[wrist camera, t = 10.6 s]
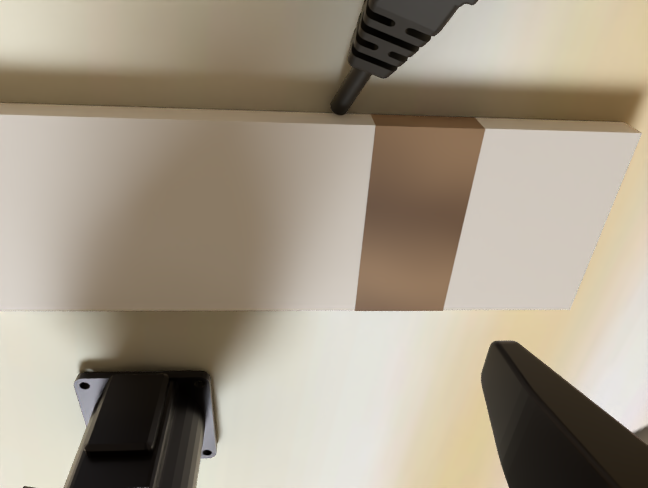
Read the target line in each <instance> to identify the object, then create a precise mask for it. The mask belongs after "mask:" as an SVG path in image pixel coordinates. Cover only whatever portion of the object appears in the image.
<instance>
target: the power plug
mask: <svg viewBox="0 0 648 488" xmlns="http://www.w3.org/2000/svg"><path fill="white" fill-rule="evenodd" d="M477 1H478V0H365V1H364V4H363V7H362V12H361V13H360V16H359V19H358V22H357V27H356V29H355V31H354V34H353V37H352V40H351V45H350V51H349V57H348V63H349V64H350V65H351V66H352V69H351V71H350V72H349V74H348V76H347V77H346V79H345V80H344V82H343V84H342V85H341V87H340V89H339V90H338V92H337V94H336V95H335V97H334V99H333V100H332V102H331V104H330V105H331V109H332V111H333V112H334V113H335V114H337V115H344V114H346V112H347V111H348V109H349V108H350V106H351V105H352V103H353V102H354V100H355V99H356V97H357V96H358V94H359V93H360V91H361V90H362V88H363V87H364V85H365V84H366V82H367V81H368V79H369V78H370V76H371V75H375V76H377V77H380V78H383V79H384V78H387V77H389V76H390V75H391V74H392V73H393V72H394V71H396V70H397V67H399V66H401V65H402V64H404V63H405V62H406V61H407V59H408V57H411V56H413V55H414V54H415V53H416V52H417V51H418V50H419V47H423V46H424V45H425V44H426V43H427V42H429V41H430V39H431V36H435V35H436V34H438V33H439V32H440V31H441V30H442V29H443V27H444V26H445V25H446V23H447V22H448V21H449V20H450V18H451V17H452V16H453V14H454V13H455V12H456V10H457V9H458V8H459V7H461V6H462V5H463V4H470V5H474V4H475V3H476V2H477Z"/></svg>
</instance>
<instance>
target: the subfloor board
mask: <svg viewBox="0 0 648 488" xmlns="http://www.w3.org/2000/svg"><path fill="white" fill-rule="evenodd" d="M641 134H642V133H641V132H639V131H638V130H636V129H634V128H633V127H631V126H629V125H628V124H626V123H625V122H607V121H574V120H542V119H509V118H477V117H445V116H412V115H380V114H347V113H346V114H344V115H337V114H335V113H315V112H282V111H250V110H217V109H185V108H152V107H120V106H87V105H55V104H23V103H0V311H284V310H355V311H443V310H570V308H571V306H572V303H573V301H574V298H575V296H576V294H577V291H578V289H579V286H580V284H581V281H582V279H583V276H584V274H585V272H586V269H587V267H588V264H589V262H590V259H591V257H592V254H593V252H594V249H595V247H596V245H597V242H598V240H599V237H600V235H601V232H602V230H603V227H604V225H605V222H606V220H607V218H608V215H609V213H610V210H611V208H612V205H613V203H614V200H615V198H616V195H617V193H618V191H619V188H620V186H621V183H622V181H623V178H624V176H625V173H626V171H627V168H628V166H629V164H630V161H631V159H632V156H633V154H634V151H635V149H636V146H637V144H638V141H639V139H640V137H641Z"/></svg>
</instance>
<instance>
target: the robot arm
mask: <svg viewBox="0 0 648 488" xmlns="http://www.w3.org/2000/svg"><path fill="white" fill-rule="evenodd" d="M200 381H202V382H200ZM85 382H86V383H85ZM481 383H482V389H483V393H484V397H485V401H486V405H487V409H488V413H489V418H490V422H491V426H492V430H493V434H494V438H495V443H496V447H497V451H498V455H499V458H500V462H501V465H502V469H503V472H504V475H505V478H506V480H507V483H508V486H509V488H648V445H647V444H646V443H645V442H643V441H642V440H641V439H640V438H638V437H637V436H636V435H635V434H633V433H632V432H631V431H629V430H628V429H627V428H626V427H624V426H623V425H622V424H621V423H619V422H618V421H617V420H616V419H614V418H613V417H612V416H610V415H609V414H608V413H607V412H605V411H604V410H603V409H602V408H600V407H599V406H598V405H596V404H595V403H594V402H593V401H591V400H590V399H589V398H588V397H586V396H585V395H584V394H583V393H581V392H580V391H579V390H577V389H576V388H575V387H574V386H572V385H571V384H570V383H569V382H567V381H566V380H565V379H563V378H562V377H561V376H560V375H558V374H557V373H556V372H555V371H553V370H552V369H551V368H550V367H548V366H547V365H546V364H544V363H543V362H542V361H541V360H539V359H538V358H537V357H536V356H534V355H533V354H532V353H530V352H529V351H528V350H527V349H525V348H524V347H523V346H522V345H520V344H519V343H517V342H515V341H494V342H493V343H492V344H491V345H490V347H489V350H488V354H487V357H486V360H485V363H484V366H483V369H482V373H481ZM74 388H75V391H76V394H77V397H78V401H79V404H80V407H81V411H82V414H83V417H84V420H85V424H86V430H85V433H84V435H83V438H82V441H81V443H80V446H79V448H78V451H77V454H76V456H75V459H74V462H73V464H72V467H71V470H70V472H69V475H68V477H67V480H66V483H65V485H64V488H196V485H197V478H198V472H199V465H200V458H212V457H214V456H215V455H216V451H217V440H216V430H215V419H214V408H213V398H212V387H211V378H210V375H209V374H208V373H206V372H204V371H162V372H85V373H81V374H79V375H78V376H77V378H76V380H75V382H74ZM23 488H34V487H27V486H24V487H23Z"/></svg>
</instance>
